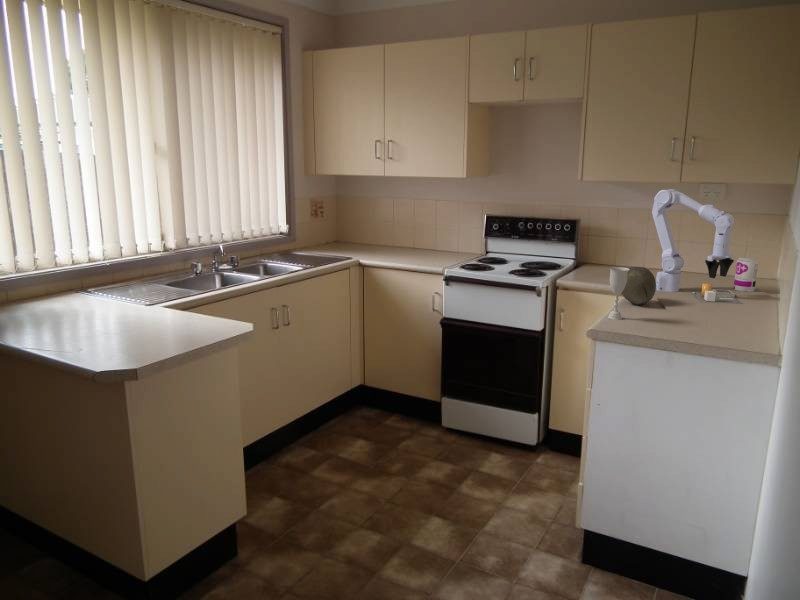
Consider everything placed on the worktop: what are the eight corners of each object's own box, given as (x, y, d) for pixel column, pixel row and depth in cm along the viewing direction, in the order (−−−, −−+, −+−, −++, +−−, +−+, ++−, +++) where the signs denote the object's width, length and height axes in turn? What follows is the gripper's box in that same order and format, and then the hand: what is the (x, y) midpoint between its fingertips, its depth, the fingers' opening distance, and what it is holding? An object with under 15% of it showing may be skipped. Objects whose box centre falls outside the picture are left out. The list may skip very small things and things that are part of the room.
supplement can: (743, 294, 270) (747, 259, 267) (728, 290, 278) (732, 256, 275) (758, 293, 273) (763, 259, 269) (743, 289, 280) (748, 256, 277)
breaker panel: (700, 304, 251) (700, 300, 251) (689, 294, 269) (689, 291, 268) (743, 306, 248) (744, 302, 248) (729, 296, 266) (730, 293, 265)
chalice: (609, 314, 233) (613, 266, 229) (627, 317, 229) (632, 268, 225) (601, 318, 228) (605, 269, 224) (620, 321, 224) (625, 271, 220)
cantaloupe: (656, 302, 253) (660, 265, 250) (650, 309, 241) (654, 271, 238) (620, 298, 260) (623, 262, 257) (612, 305, 248) (616, 267, 245)
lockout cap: (702, 296, 260) (703, 284, 259) (700, 295, 264) (701, 283, 263) (711, 297, 260) (713, 285, 258) (709, 295, 263) (710, 283, 262)
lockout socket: (716, 297, 260) (716, 292, 259) (711, 293, 266) (712, 289, 266) (734, 298, 258) (734, 293, 258) (728, 294, 265) (729, 290, 264)
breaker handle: (706, 301, 252) (707, 292, 251) (704, 298, 255) (705, 290, 255) (714, 301, 251) (715, 292, 250) (711, 299, 255) (713, 290, 254)
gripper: (720, 246, 249) (716, 280, 252) (741, 244, 257) (736, 277, 260) (704, 244, 255) (700, 277, 258) (724, 242, 263) (720, 274, 266)
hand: (717, 277), depth 259 cm, fingers open, 7 cm apart
